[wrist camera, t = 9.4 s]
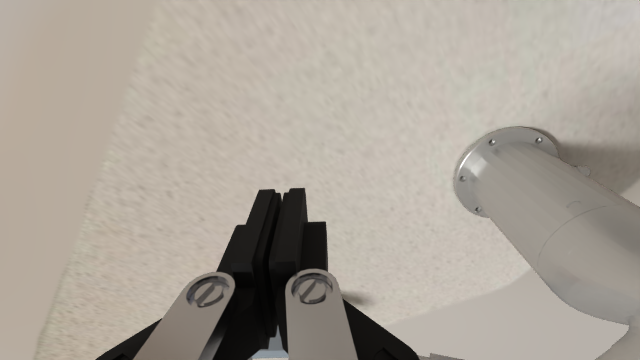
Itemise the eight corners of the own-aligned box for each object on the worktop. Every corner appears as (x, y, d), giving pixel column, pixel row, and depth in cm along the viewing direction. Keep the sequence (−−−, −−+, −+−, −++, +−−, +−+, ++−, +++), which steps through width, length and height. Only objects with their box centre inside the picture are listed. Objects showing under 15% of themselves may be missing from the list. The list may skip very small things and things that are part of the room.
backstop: (320, 325, 54) (320, 349, 50) (321, 332, 55) (320, 356, 51) (229, 327, 54) (221, 351, 50) (230, 334, 55) (223, 358, 51)
